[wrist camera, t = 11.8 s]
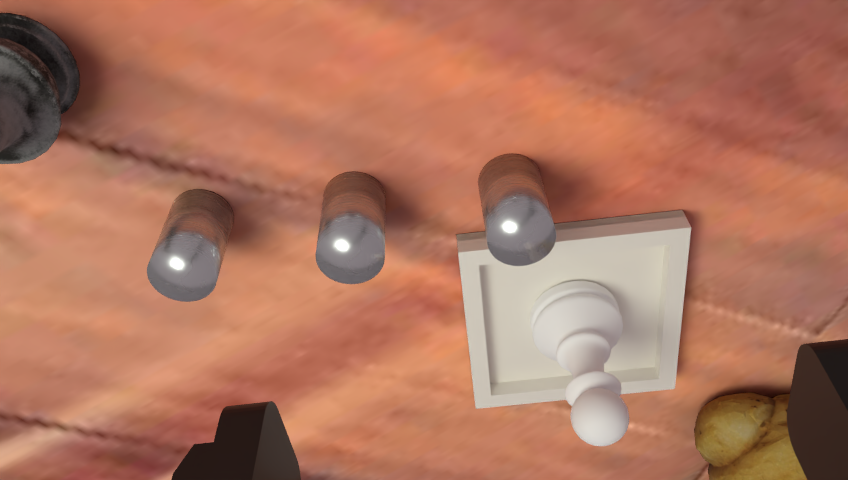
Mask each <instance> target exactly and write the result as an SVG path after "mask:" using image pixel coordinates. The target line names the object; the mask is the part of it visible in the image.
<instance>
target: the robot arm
mask: <svg viewBox="0 0 848 480" xmlns="http://www.w3.org/2000/svg"><path fill="white" fill-rule="evenodd" d="M787 426H788V433H789V437H790V441H791V444H792V447H793V450H794V452H795V455H796V457H797V459H798V461H799V463H800V465H801V467H802V470H803V472H804V474H805V476H806V478H807V480H848V339H845V340H836V341H827V342H818V343H809V344H803V345H801V346H800V348H799V350H798V353H797V359H796V364H795V370H794V375H793V380H792V386H791V391H790V397H789V402H788V408H787ZM172 480H301V477H300V470H299V465H298V461H297V458H296V455H295V453H294V450H293V448H292V445H291V442H290V440H289V437H288V435H287V432H286V429H285V427H284V424H283V421H282V419H281V416H280V414H279V411H278V409H277V406H276V405H275V403H274V402H272V401H271V402H262V403H253V404H244V405H235V406H227V407H225V408H224V409H223V411H222V413H221V416H220V419H219V423H218V427H217V431H216V435H215V439H214V442H212V443H203V444H194V445H193V447H192V448H191V449H190V451H189V452H188V454H187V455H186V456H185V458H184V459H183V461H182V462H181V463H180V465H179V466H178V468H177V469H176V470H175V472H174V473H173V476H172Z"/></svg>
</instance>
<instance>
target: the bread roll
mask: <svg viewBox="0 0 848 480" xmlns="http://www.w3.org/2000/svg"><path fill="white" fill-rule="evenodd" d="M789 397H790V394H786V395H779V396H776V397H774V398H770V397H767V396H763V395H759V394H755V393H751V392H750V393H741V394H733V395H727V396H722V397H718V398H716V399H714V400H712V401H711V402H709V403H707V404H706V405H705V406H704V407H703V408H702V409H701V410H700V412H699V414H698V417H697V420H696V426H695V429H694V433H695V445H696V448H697V450H698V451H699V452H700V454H701V455H702V457H703V458H704V459H705V461H707V462H709V463H710V464H709V468H708V474H709V479H710V480H807V478H806V476H805V474H804V472H803V470H802V467H801V465H800V463H799V461H798V459H797V457H796V455H795V452H794V450H793V447H792V444H791V441H790V437H789V433H788V426H787V408H788V402H789Z"/></svg>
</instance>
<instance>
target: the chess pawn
mask: <svg viewBox="0 0 848 480" xmlns="http://www.w3.org/2000/svg"><path fill="white" fill-rule="evenodd" d="M530 325H531V329H532V336H533V340H534V344H535V345H536V347H537V348H538V350H539V351H540V352H541V353H542V354H544V355H545V356H546V357H548V358H550V359H552V360H555V361H557V362H558V363H559V365H560V366H561V367H562V368H564V369H565V370H567V371H570V372H571V373H572V376H573V378H574V379H573V380H572V381H571V382H570V383H569V384H568V386H567V387H566V390H565V397H566V400H567V401H568V403H569V404H570V405H571V406H572V409H571V422H572V426H573V429H574V431H575V432H576V433H577V435H578V436H579V437H580V438H581V439H582V440H584V441H585V442H586V443H589V444H591V445H595V446H607V445H611V444H613V443H615V442H617V441H618V440H619V439H621V438H622V437H623V435H624V434H625V432H626V431H627V428H628V424H629V414H628V409H627V406H626V404H625V403H624V401H623V400H622V398H621V397H620V394H621V389H622V388H621V383H620V382H619V380H618V379H617V378H616V377H615V376H614V375H612V374H609V373H607V372H604V364H605V363H606V362H607V360H608V359H609V357H610V354H611V349H612V348H613V347H614V346H615V345H616V344H617V342H618V340H619V338H620V337H621V334H622V330H623V321H622V316H621V314H620V312H619V307H618V304H617V301H616V300H615V298H614V296H613V294H612V293H610V292H609V291H608V290H607V289H606V288H605V287H603V286H600V285H598V284H596V283H592V282H588V281H570V282H566V283H561V284H559V285H556V286H554V287H552V288H550V289H549V290H547V291H546V292H544V293H543V294H542V295H541V296H540V297H539V298H538V299H537V300H536V301H535V303H534V305H533V307H532V309H531V313H530Z"/></svg>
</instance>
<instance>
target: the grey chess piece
mask: <svg viewBox="0 0 848 480" xmlns="http://www.w3.org/2000/svg"><path fill="white" fill-rule="evenodd" d="M78 90H79V71H78V68H77V65H76V61H75V59H74V57H73V56H72V54H71V52H70V50H69V49H68V47H67V46H66V45H65V44H64V42H63V41H62V40H61V39H60V38H59V37H58V36H57V35H56V34H55V33H54V32H52V31H51V30H49V29H48V28H47V27H45V26H44V25H42V24H41V23H39V22H36V21H34V20H32V19H30V18H27V17H25V16H20V15H16V14H11V13H0V164H16V163H22V162H26V161H29V160H33V159H35V158H37V157H38V156H40V155H42V154H43V153H45V152H46V151H47V150H48V149H49V148H50V147H51V145H52V144H53V143H54V141H55V140H56V139H57V136H58V133H59V130H60V127H61V114H62V113H64V112H66V111H67V110H68V109H69V107H70V106H71V105H72V104H73V102H74V101H75V100H76V97H77V94H78Z"/></svg>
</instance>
